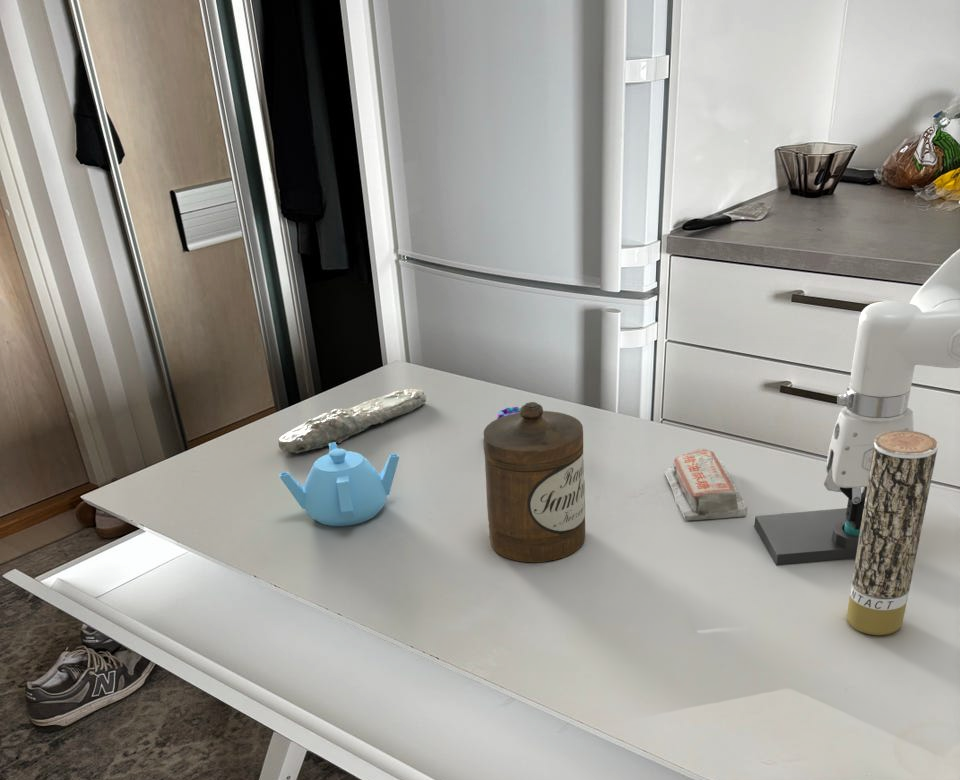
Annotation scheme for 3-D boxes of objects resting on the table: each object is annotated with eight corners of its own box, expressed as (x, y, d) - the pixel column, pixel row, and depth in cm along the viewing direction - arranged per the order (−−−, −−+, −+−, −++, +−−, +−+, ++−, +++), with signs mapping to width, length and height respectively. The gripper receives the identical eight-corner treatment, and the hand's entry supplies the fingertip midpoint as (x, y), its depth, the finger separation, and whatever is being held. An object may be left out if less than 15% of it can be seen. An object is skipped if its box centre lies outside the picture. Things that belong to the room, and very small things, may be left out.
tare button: (864, 530, 142) (866, 517, 141) (873, 541, 139) (875, 529, 138) (839, 532, 142) (841, 519, 141) (848, 544, 139) (850, 531, 138)
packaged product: (750, 489, 149) (685, 495, 150) (748, 518, 152) (684, 523, 152) (723, 442, 164) (664, 447, 164) (721, 469, 167) (663, 474, 167)
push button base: (853, 518, 149) (857, 497, 147) (885, 559, 139) (889, 538, 137) (754, 526, 150) (755, 506, 148) (777, 568, 139) (780, 547, 137)
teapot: (282, 521, 164) (269, 461, 158) (339, 484, 174) (329, 427, 168) (353, 539, 157) (342, 477, 150) (408, 500, 167) (400, 441, 161)
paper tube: (863, 603, 130) (893, 425, 116) (911, 621, 126) (949, 439, 112) (835, 624, 127) (863, 444, 113) (884, 644, 122) (919, 459, 108)
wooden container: (560, 571, 143) (555, 429, 131) (473, 552, 150) (460, 416, 137) (601, 526, 154) (599, 391, 141) (517, 510, 160) (509, 380, 148)
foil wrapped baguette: (439, 412, 202) (409, 404, 209) (436, 386, 200) (406, 379, 206) (298, 460, 183) (269, 450, 189) (293, 433, 180) (264, 423, 186)
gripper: (830, 416, 126) (812, 541, 136) (946, 406, 126) (920, 532, 136) (811, 395, 132) (796, 516, 142) (922, 386, 132) (899, 508, 142)
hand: (857, 524), depth 139 cm, fingers closed
